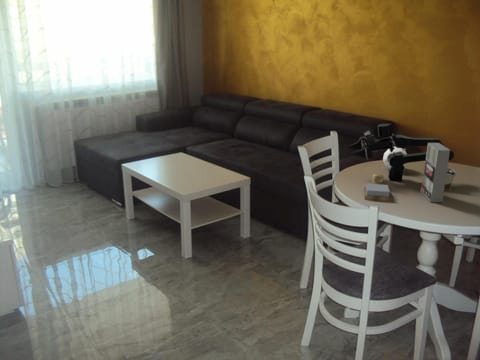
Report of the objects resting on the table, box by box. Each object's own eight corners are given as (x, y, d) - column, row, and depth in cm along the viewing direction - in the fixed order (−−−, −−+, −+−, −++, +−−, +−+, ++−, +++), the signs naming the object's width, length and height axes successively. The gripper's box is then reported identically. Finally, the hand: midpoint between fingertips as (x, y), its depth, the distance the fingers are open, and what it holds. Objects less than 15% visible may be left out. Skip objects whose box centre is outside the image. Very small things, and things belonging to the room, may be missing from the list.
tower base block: (388, 193, 234) (389, 189, 233) (391, 202, 222) (391, 197, 222) (363, 192, 236) (364, 187, 235) (364, 200, 225) (365, 195, 224)
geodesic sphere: (413, 157, 272) (400, 138, 270) (416, 164, 259) (402, 144, 257) (391, 171, 277) (378, 151, 275) (392, 178, 264) (379, 158, 262)
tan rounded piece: (381, 183, 246) (382, 174, 245) (382, 186, 242) (383, 177, 240) (371, 182, 247) (372, 173, 246) (372, 186, 243) (373, 176, 241)
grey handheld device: (419, 192, 234) (426, 142, 226) (432, 192, 234) (439, 142, 226) (429, 202, 221) (436, 150, 213) (442, 202, 221) (450, 150, 213)
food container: (453, 187, 241) (456, 168, 238) (453, 190, 236) (456, 171, 233) (427, 183, 246) (430, 165, 243) (426, 187, 241) (429, 168, 238)
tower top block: (387, 189, 232) (387, 185, 231) (388, 196, 223) (389, 191, 222) (366, 188, 234) (366, 183, 233) (366, 195, 225) (367, 190, 224)
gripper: (374, 124, 253) (345, 130, 255) (382, 136, 236) (350, 142, 238) (377, 143, 257) (348, 149, 260) (384, 157, 240) (353, 162, 243)
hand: (349, 150), depth 250 cm, fingers open, 9 cm apart
